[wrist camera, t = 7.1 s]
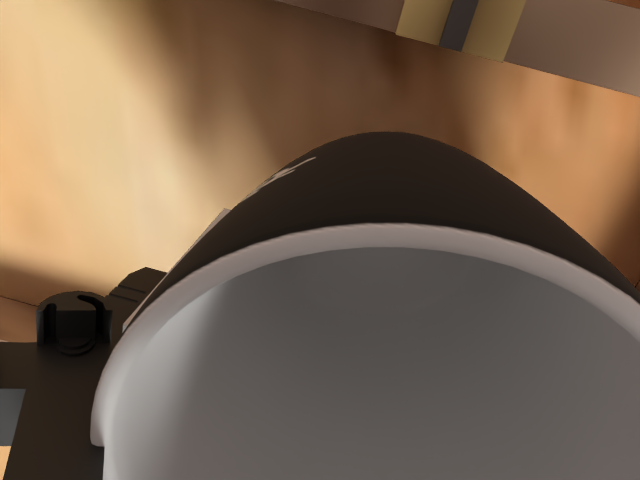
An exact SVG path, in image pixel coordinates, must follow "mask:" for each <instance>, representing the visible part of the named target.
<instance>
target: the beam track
mask: <svg viewBox="0 0 640 480" xmlns="http://www.w3.org/2000/svg"><path fill="white" fill-rule="evenodd" d="M274 1H278V2H282V3H286V4H289V5H293V6H297V7H301V8H305V9H308V10H312V11H316V12H320V13H323V14H327V15H331V16H335V17H339V18H342V19H346V20H350V21H354V22H358V23H361V24H365V25H369V26H373V27H377V28H380V29H384V30H388V31H392V32H396V33H395V35H399V36H403V37H406V38H410V39H414V40H418V41H422V42H425V43H429V44H433V45H437V46H440V47H444V48H448V49H452V50H456V51H459V52H463V53H467V54H471V55H475V56H479V57H482V58H486V59H490V60H494V61H497V62H501V63H503V61H506V62H509V63H513V64H517V65H521V66H524V67H528V68H532V69H536V70H540V71H543V72H547V73H551V74H555V75H559V76H562V77H566V78H570V79H574V80H578V81H581V82H585V83H589V84H593V85H597V86H600V87H604V88H608V89H612V90H615V91H619V92H623V93H627V94H631V95H634V96H638V97H640V9H637V8H633V7H630V6H626V5H622V4H618V3H614V2H610V1H607V0H274ZM636 289H637V290H638V292H639V293H640V281H639V283H638V284H637V286H636ZM37 308H38V307H37V306H33V305H29V304H26V303H22V302H18V301H15V300H11V299H7V298H4V297H0V342H37V334H36V310H37Z"/></svg>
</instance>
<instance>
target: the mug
mask: <svg viewBox="0 0 640 480" xmlns="http://www.w3.org/2000/svg"><path fill="white" fill-rule="evenodd" d="M90 439H91V443H92V444H93V445H96V446H103V447H105V450H104V468H103V480H640V293H639V292H638V290H637V289H636V288H635V287H634V286H633V285H632V284H631V283H630V282H629V281H628V280H627V279H626V278H625V277H624V276H623V275H622V274H621V273H620V272H619V271H618V270H617V269H616V268H615V267H614V266H613V265H612V264H611V263H610V262H609V261H608V260H607V259H606V258H605V257H604V256H602V255H601V254H600V253H599V252H598V251H597V250H596V249H595V248H594V247H592V246H591V245H590V244H589V243H588V242H587V241H586V240H585V239H583V238H582V237H581V236H580V235H579V234H578V233H577V232H575V231H574V230H573V229H572V228H571V227H569V226H568V225H567V224H566V223H565V222H564V221H562V220H561V219H560V218H559V217H557V216H556V215H555V214H554V213H553V212H551V211H550V210H549V209H548V208H547V207H545V206H544V205H543V204H542V203H540V202H539V201H538V200H537V199H535V198H534V197H533V196H531V195H530V194H529V193H527V192H526V191H525V190H523V189H522V188H521V187H519V186H518V185H517V184H515V183H514V182H512V181H511V180H509V179H508V178H506V177H505V176H503V175H502V174H500V173H499V172H497V171H496V170H494V169H493V168H491V167H490V166H488V165H487V164H485V163H483V162H482V161H480V160H478V159H476V158H475V157H473V156H471V155H469V154H467V153H465V152H463V151H461V150H459V149H457V148H455V147H452V146H450V145H447V144H445V143H442V142H440V141H437V140H434V139H430V138H427V137H423V136H420V135H414V134H409V133H401V132H370V133H362V134H357V135H352V136H348V137H344V138H341V139H338V140H335V141H332V142H329V143H327V144H325V145H323V146H320V147H318V148H316V149H314V150H312V151H310V152H308V153H307V154H305V155H303V156H301V157H300V158H298V159H296V160H294V161H293V162H291V163H289V164H288V165H287V166H285V167H284V168H282V169H281V170H280V171H278V172H277V173H275V174H274V175H273V176H271V177H270V178H269V179H267V180H266V181H265V182H263V183H262V184H261V185H260V186H258V187H257V188H256V189H255V190H254V191H252V192H251V193H250V194H249V195H248V196H247V197H246V198H244V199H243V200H242V201H241V202H240V203H239V204H238V205H237V206H235V207H234V208H233V209H232V210H231V211H230V212H229V213H228V214H226V215H225V216H224V217H223V218H222V219H221V220H220V221H219V222H218V223H217V224H216V225H215V226H214V227H213V228H212V229H211V230H210V231H208V232H207V233H206V234H205V235H204V236H203V237H202V239H201V240H200V241H199V242H198V243H197V244H196V245H195V246H194V247H193V248H192V249H191V250H190V251H189V252H188V253H187V254H186V255H185V256H184V257H183V258H182V259H181V261H180V262H179V263H178V264H177V265H176V266H175V267H174V268H173V269H172V271H171V272H170V273H169V274H168V275H167V276H166V277H165V278H164V280H163V281H162V282H161V283H160V284H159V285H158V286H157V288H156V289H155V290H154V291H153V292H152V294H151V295H150V296H149V297H148V298H147V300H146V301H145V302H144V304H143V305H142V306H141V308H140V309H139V310H138V312H137V313H136V314H135V316H134V317H133V318H132V320H131V321H130V323H129V324H128V326H127V327H126V329H125V330H124V332H123V333H122V334H121V336H120V337H119V339H118V341H117V343H116V345H115V347H114V349H113V351H112V353H111V355H110V357H109V359H108V361H107V363H106V365H105V367H104V369H103V371H102V374H101V377H100V379H99V382H98V385H97V388H96V391H95V396H94V401H93V406H92V412H91V426H90Z"/></svg>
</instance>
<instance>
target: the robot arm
mask: <svg viewBox="0 0 640 480" xmlns="http://www.w3.org/2000/svg"><path fill="white" fill-rule="evenodd" d="M230 211H231V210H228V209H225V208H224V209H223V211H222V212H221V213H220V214H219V215H218V216H217V217H216V219H215V220H214V221H213V222H212V223H211V224H210V225H209V227H208V228H207V229H206V230H205V231H204V232H203V233H202V235H201V236H200V237H199V238H198V239H197V240H196V241H195V243H194V244H193V245H192V246H191V247H190V248H189V249H188V251H187V252H186V253H185V254H184V255H183V256H182V257H181V259H182V258H183V257H184V256H185V255H186V254H187V253H188V252H189V251H190V250H191V249H192V248H193V247H194V246H195V245H196V244H197V243H198V242H199V241H200V240H201V239H202V237H203V236H204V235H205V234H206V233H207V232H208V231H210V230H211V229H212V228H213V227H214V226H215V225H216V224H217V223H218V222H219V221H220V220H221V219H222V218H223V217H224V216H225V215H226V214H228V213H229V212H230ZM181 259H180V260H179V261H178V262H177V263H176V264H175V265H174V267H175V266H176V265H177V264H178V263H179V262H180V261H181ZM174 267H173V268H174ZM173 268H172V269H173ZM172 269H171V270H170V271H169V272H168V273H166V272H162V271H159V270H155V269H151V268H148V267H145V268H142V269H140V270H138V271H135V272H133V273H131V274H129V275H128V276H127V277H126V278H125V279H124V280H123V281H121V282H120V283H119V284H118V287H115V288H114V289H113V290H112V291H111V292H110V293H109V296H108V295H107V296H106V297H105V298H104V297H103V296H100V295H97V294H95V293H92V292H83V291H73V292H64V293H60V294H57V295H54V296H51V297H49V298H48V299H46V300H45V301H43V302H41V304H40V305H39V307H38V308H37V310H36V334H37V342H0V446H11V449H10V453H9V457H8V461H7V465H6V469H5V473H4V477H3V480H103V468H104V450H105V447H103V446H96V445H93V444H92V443H91V439H90V426H91V412H92V406H93V401H94V396H95V391H96V388H97V385H98V382H99V379H100V377H101V374H102V371H103V369H104V367H105V365H106V363H107V361H108V359H109V357H110V355H111V353H112V351H113V349H114V347H115V345H116V343H117V341H118V339H119V337H120V336H121V334H122V333H123V332H124V330H125V329H126V327H127V326H128V324H129V323H130V321H131V320H132V318H133V317H134V316H135V314H136V313H137V312H138V310H139V309H140V308H141V306H142V305H143V304H144V302H145V301H146V300H147V298H148V297H149V296H150V295H151V294H152V292H153V291H154V290H155V289H156V288H157V286H158V285H159V284H160V283H161V282H162V281H163V280H164V278H165V277H166V276H167V275H168V274H169V273H170V272H171V271H172Z"/></svg>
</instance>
